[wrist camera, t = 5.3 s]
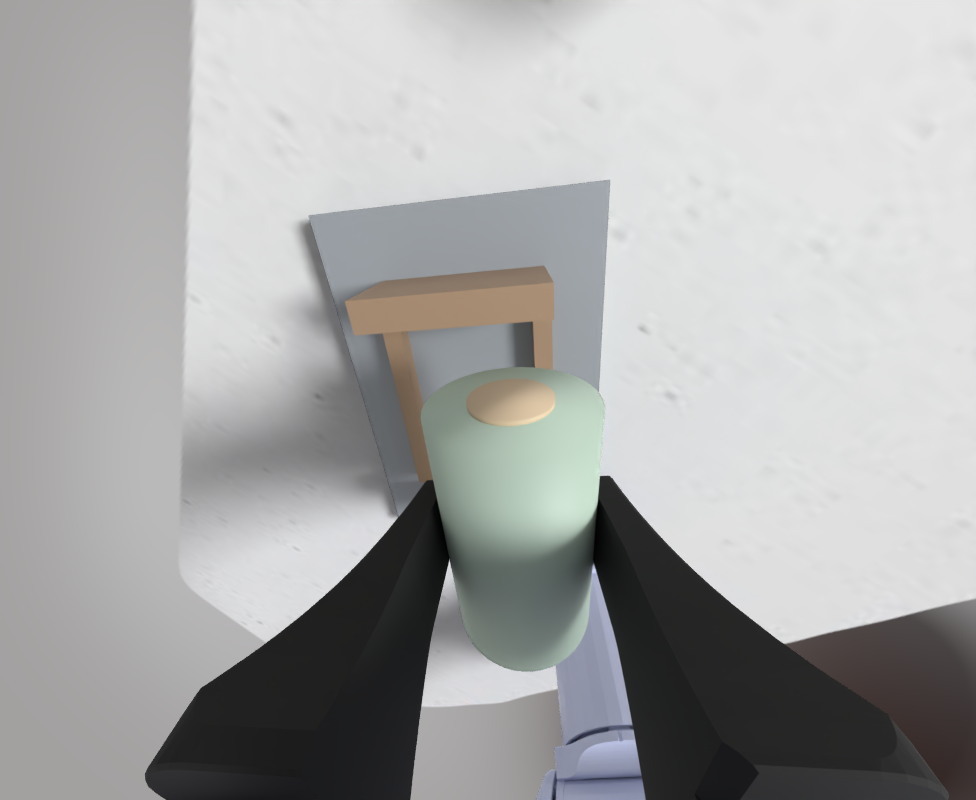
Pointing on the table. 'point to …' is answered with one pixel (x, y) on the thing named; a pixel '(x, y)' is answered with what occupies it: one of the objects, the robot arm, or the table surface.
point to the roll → (518, 506)
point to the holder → (463, 300)
